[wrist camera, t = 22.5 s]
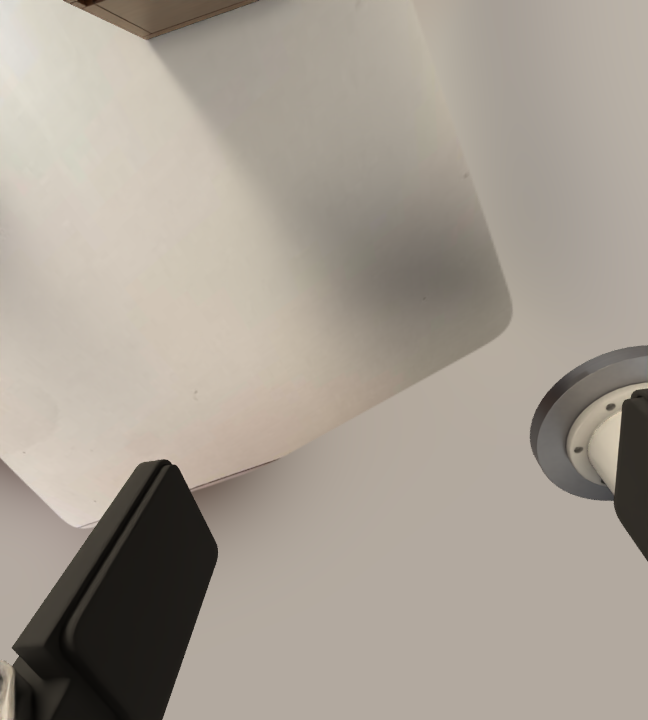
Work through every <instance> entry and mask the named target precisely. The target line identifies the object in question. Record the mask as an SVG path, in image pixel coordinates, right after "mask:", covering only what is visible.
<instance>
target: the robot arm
mask: <svg viewBox="0 0 648 720" xmlns="http://www.w3.org/2000/svg"><path fill="white" fill-rule="evenodd" d="M566 449H567V454H568V457H569V459H570V461H571V463H572V465H573V466H574V468H575V469H576V470H577V472H578V473H579V474H580V475H581V476H583V477H584V478H585V479H587V480H589V481H591V482H592V483H595V484H598V485H601V486H607V487H608V488H609V489H610V490H611V492H612V493H613V495H614V507H615V510H616V514H617V516H618V518H619V520H620V521H621V523H622V524H623V526H624V528H625V529H626V531H627V532H628V533H629V535H630V536H631V538H632V539H633V540H634V542H635V543H636V545H637V547H638V548H639V549H640V551H641V552H642V554H643V555H644V556H645V558H646V560H647V561H648V383H640V384H634V385H629V386H626V387H623V388H619V389H617V390H614V391H612V392H610V393H608V394H606V395H604V396H602V397H601V398H599V399H598V400H596V401H594V402H593V403H592V404H591V405H589V406H588V407H587V408H586V409H585V410H584V411H583V412H582V413H581V414H580V415H579V416H578V418H577V419H576V420H575V422H574V423H573V425H572V427H571V429H570V431H569V434H568V437H567V445H566ZM217 558H218V548H217V544H216V542H215V540H214V538H213V536H212V534H211V532H210V530H209V528H208V526H207V524H206V522H205V520H204V518H203V516H202V514H201V512H200V510H199V508H198V506H197V504H196V502H195V500H194V498H193V496H192V494H191V492H190V490H189V488H188V486H187V484H186V482H185V480H184V478H183V476H182V474H181V472H180V470H179V468H178V467H177V466H176V465H172V464H171V462H170V461H168V460H165V459H163V460H157V461H150V462H143V463H141V464H139V465H138V466H137V467H136V469H135V470H134V472H133V473H132V475H131V476H130V478H129V479H128V480H127V482H126V483H125V485H124V486H123V488H122V489H121V491H120V492H119V493H118V495H117V496H116V498H115V499H114V501H113V502H112V504H111V505H110V506H109V508H108V509H107V511H106V512H105V514H104V515H103V517H102V518H101V519H100V521H99V522H98V524H97V525H96V527H95V528H94V530H93V531H92V532H91V534H90V535H89V537H88V538H87V540H86V541H85V543H84V544H83V545H82V547H81V548H80V550H79V551H78V553H77V554H76V556H75V557H74V559H73V560H72V562H71V563H70V564H69V566H68V567H67V569H66V570H65V572H64V573H63V575H62V576H61V577H60V579H59V580H58V582H57V583H56V585H55V586H54V587H53V589H52V590H51V592H50V593H49V595H48V596H47V598H46V599H45V600H44V602H43V603H42V605H41V606H40V608H39V609H38V611H37V612H36V613H35V615H34V616H33V618H32V619H31V621H30V622H29V624H28V625H27V627H26V628H25V629H24V631H23V632H22V634H21V635H20V637H19V638H18V640H17V641H16V642H15V644H14V645H13V647H12V649H13V650H14V651H15V652H16V653H17V654H18V655H19V657H18V658H17V660H16V661H15V663H14V664H13V666H11V665H10V664H9V663H7V662H6V661H2V660H0V720H162V719H163V716H164V713H165V710H166V707H167V704H168V701H169V698H170V696H171V693H172V690H173V687H174V684H175V681H176V678H177V675H178V672H179V670H180V667H181V664H182V660H183V658H184V655H185V651H186V649H187V646H188V643H189V640H190V638H191V635H192V632H193V629H194V626H195V623H196V620H197V617H198V614H199V611H200V608H201V606H202V602H203V599H204V597H205V594H206V591H207V588H208V585H209V582H210V579H211V576H212V574H213V570H214V568H215V565H216V562H217Z"/></svg>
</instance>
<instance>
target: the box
mask: <svg viewBox="0 0 648 720" xmlns="http://www.w3.org/2000/svg"><path fill="white" fill-rule="evenodd" d="M63 1H65V2H67V3H70V4H71V5H73V6H76V7H78V8H80V9H82V10H84V11H86V12H88V13H91V14H93V15H95V16H97V17H99V18H101V19H103V20H105V21H107V22H110V23H112V24H114V25H116V26H118V27H120V28H122V29H124V30H127V31H129V32H131V33H133V34H135V35H137V36H139V37H141V38H143V39H146V40H147V39H150V38H153V37H156V36H159V35H161V34H164V33H167V32H170V31H173V30H176V29H179V28H181V27H184V26H187V25H190V24H193V23H196V22H199V21H201V20H204V19H207V18H210V17H213V16H216V15H219V14H221V13H224V12H227V11H230V10H233V9H236V8H239V7H241V6H244V5H247V4H250V3H253V2H256V1H259V0H63Z"/></svg>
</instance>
